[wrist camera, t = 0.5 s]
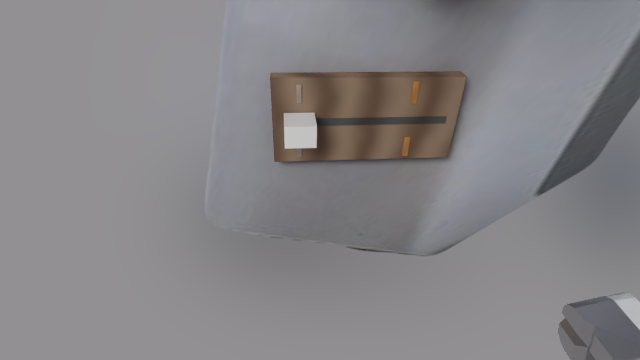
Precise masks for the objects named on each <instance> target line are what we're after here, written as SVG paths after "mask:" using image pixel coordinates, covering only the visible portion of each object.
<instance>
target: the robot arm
mask: <svg viewBox="0 0 640 360" xmlns="http://www.w3.org/2000/svg"><path fill="white" fill-rule="evenodd" d="M562 313H563V315H564V316H565V319H564V320H563V321H562V322H560V324H559V329H558V333H559V336H560V341H561V343H562V346H563V348H564V350H565V351H566V353H567V355H568V356H569V358H570V359H571V360H640V302H639V301H638V300H637V299H636V298H635V297H634V296H632V295H631V294H629V293H619V294H614V295H609V296H603V297H598V298H593V299H588V300H584V301H580V302H575V303H570V304H567V305H565V306H564V307H563V311H562Z"/></svg>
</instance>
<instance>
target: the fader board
mask: <svg viewBox="0 0 640 360" xmlns="http://www.w3.org/2000/svg"><path fill="white" fill-rule="evenodd" d="M466 78H467V77H466V76H465V75H464V74H463V73H462V72H334V73H271V75H270V82H271V102H272V121H273V141H274V160H275V162H280V161H319V160H358V159H398V158H437V157H448V153H449V149H450V145H451V140H452V136H453V132H454V128H455V124H456V119H457V115H458V111H459V107H460V103H461V99H462V94H463V90H464V86H465V82H466ZM284 113H315V118H316V124H317V148H294V149H285V144H284Z"/></svg>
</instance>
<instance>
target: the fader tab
mask: <svg viewBox="0 0 640 360" xmlns="http://www.w3.org/2000/svg"><path fill="white" fill-rule="evenodd" d="M284 144H285V149H294V148H317V124H316V118H315V113H284Z"/></svg>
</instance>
